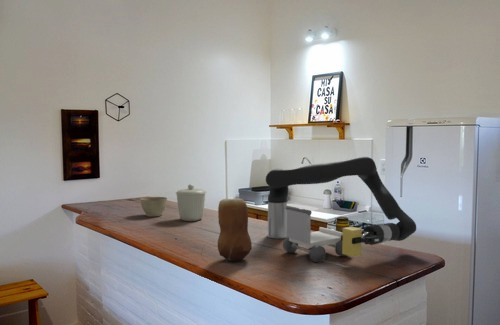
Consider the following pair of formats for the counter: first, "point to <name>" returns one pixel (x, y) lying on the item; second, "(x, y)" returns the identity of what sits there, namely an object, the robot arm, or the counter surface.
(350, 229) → the yellow rectangular block
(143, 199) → the planter bowl
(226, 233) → the butternut squash
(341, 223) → the condiment
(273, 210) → the robot arm
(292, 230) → the trolley
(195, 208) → the canister
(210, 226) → the counter surface
